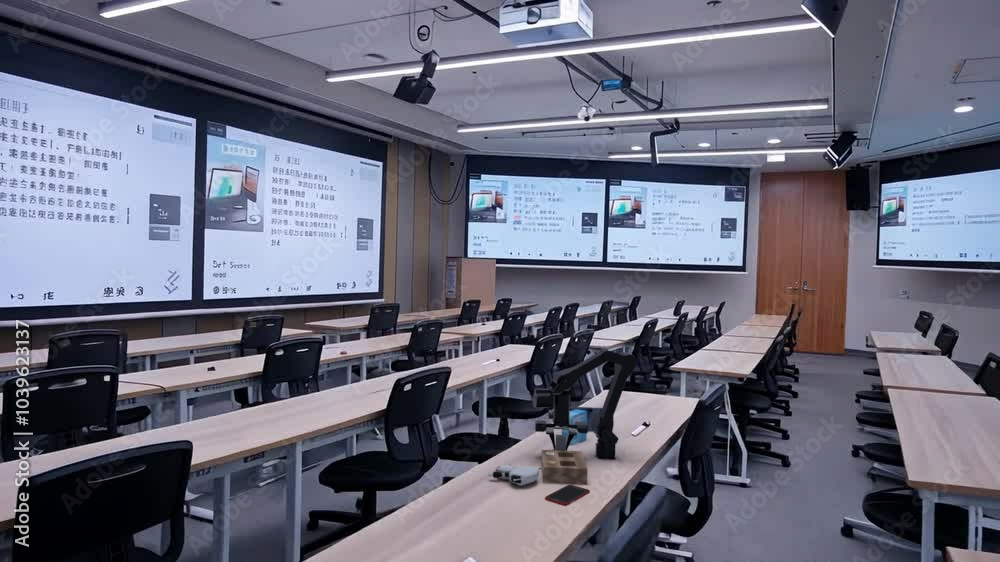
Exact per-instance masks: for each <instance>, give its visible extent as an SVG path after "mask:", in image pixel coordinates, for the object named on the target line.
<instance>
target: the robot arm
mask: <svg viewBox="0 0 1000 562" xmlns="http://www.w3.org/2000/svg"><path fill="white" fill-rule="evenodd" d="M607 362H610V363H614V375H613V379H612V381H611V384H610V387H609V389H608V392H607V394H606V397H605V400H604V402H603V406H602V407H601V408H602V410H601V412H600V413H599V414H596V413H594V416H593V420H592V421H591V424H592V425H591V429H592V431H593V432H592V433H594V434H595V436H596V438H597V441H596V443H595V452H594V453H595V456H596V458H597V459H598V460H615V461H617V457H616V444H618V441H619V437H618V436H617V435H616V434H615V433H614V432H613V431H614V423H615V422H614V416H615V413H616V410H617V407H618V404H619V401H620V399H621V396H622V393H623V391H624V388H625V385H626V382H627V379H629V377H630V376H631V375H632V374H633V373H634V371H635V369H636V367H637V366H638V358H637V357H636V356H635V355H634V354H631V353H628V352H626V351H623V352H615V351H612V350H608V349H606V348H602V349H600V350H599V351H598V352H596V353H595V354H593V355H591V356H589V357H588V358H586V359H585V360H582V361H581V362H580V363H577V364H576V365H574V366H572V367H567V368H564V369H562V370H559V371H557V372H555V373H554V374H553V377H552V380H551V382H550V383H549V385H548V386H547V387H546V388H539V387H538V388H534V392H533V396H532V406H533V408H534V409H547V408H549V409H548V417H547V418H548V420H552V423H548V422H547V421H546V420H540V419H536V420H535V421H534V430H535V432H538V433H545V434H546V435H548V436H549V438H550V441H551V444H552V448H553V450H555V445H556V436H555V431H554V430H562V429H568V431H567V440H566V451H568V449H569V447H570V445H569V444H570V442H571V440H572V438H573V437H574V435H577V432H576V431H578V432H579V433H587V434H588V433H589V432H588V426H587V424H586V422H576V424H569V413H570V407H571V406H570V405H571V404H570V403H571V396H576V395H577V394H576V393H575V391H573V389H572V387H573V386H574V385H576V383H577V382H578V381H579V380H580V378H582V377H583V376H585V375H587V374H588V373H590V372H592V371H594V370H596V369H597V368H598V367H600V366H602V365H604V364H605V363H607ZM551 407H553V409H550V408H551Z"/></svg>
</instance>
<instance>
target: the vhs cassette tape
mask: <svg viewBox="0 0 1000 562" xmlns="http://www.w3.org/2000/svg"><path fill="white" fill-rule="evenodd" d="M602 408H603V407H591V406H588V407H587V406H585V407H584V406H570V411H573V410H576V409H578V410H583V411H586V412H587V426H588V433H594V432H593V431H592V429H591V425H592V424H591V421H592V420H593V416H594V413H596V414H599V413H600V412H601V410H602Z"/></svg>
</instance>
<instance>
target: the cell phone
mask: <svg viewBox="0 0 1000 562" xmlns="http://www.w3.org/2000/svg"><path fill="white" fill-rule="evenodd" d="M590 491H591V490H589V489H588V488H584V487H581V486H578V485H575V484H567V485H566V486H563V487H561V488H559V489H557V490H556V491H554V492H551V493H550V494H548V495H546V496H545V497H544V500H545V501H547V502H550V503H554V504H557V505H559V506H565V507H567V506H569V505H570V504H571V503H574V502H576V501H578V500H579V499H582V498H583V497H585V496H586V495H589V494H590Z"/></svg>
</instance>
